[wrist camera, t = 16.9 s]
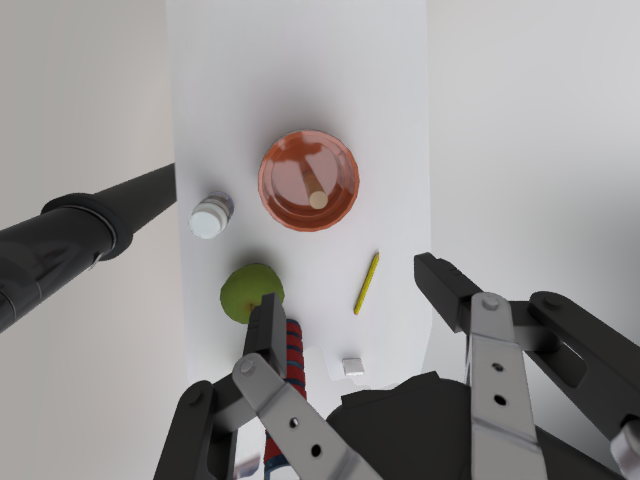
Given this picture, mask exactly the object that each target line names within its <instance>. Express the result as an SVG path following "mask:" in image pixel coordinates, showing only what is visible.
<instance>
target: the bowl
mask: <svg viewBox="0 0 640 480" xmlns="http://www.w3.org/2000/svg"><path fill="white" fill-rule="evenodd" d="M306 171H313V172H314V173H315V175H316V177H317V179H318V180H319V182H320V184H321V186H322V188H323V189H324V191H325V193H326V195H327V197H328V202H327V204H326V206H325V207H323V208H322V209H315V208H313V207H312V206H311V205H310V203H309V199H308V196H307V193H306V189H305V186H304V183H303V179H302V176H303V174H304V172H306ZM358 188H359V174H358V167H357V164H356V162H355V160H354V158H353V156H352V154H351V152H350V150H349V149H348V148H347V147H346V146H345V145H344V144H343V143H342V142H341V141H340V140H338V139H337V138H335V137H333V136H330V135H328V134H326V133H324V132H322V131H318V130H311V129H300V130H296V131H292V132H288V133H286V134H285V135H283V136H282V137H280V138H279V139H277V140H276V141H275V142H274V143H273V145H272V146H271V147H270V149H269V150H268V151H267V153H266V154H265V156H264V158H263V161H262V164H261V167H260V170H259V173H258V190H259V194H260V197H261V199H262V202H263V205H264V207H265V208H266V210H267V211H268V212H269V213H270V215H271V216H272V217H273V218H274V219H275V220H276V221H278V222H279V223H281V224H282V225H283V226H285V227H287V228H290V229H293V230H296V231H300V232H315V231H319V230H323V229H327V228H329V227H331V226H332V225H334V224H336V223H337V222H339V221H340V220H341V219H342V218H343V217H344V216H345V215H346V214H347V213H348V212H349V211H350V209H351V207H352V206H353V204H354V202H355V200H356V198H357V193H358Z"/></svg>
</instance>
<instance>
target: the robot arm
mask: <svg viewBox="0 0 640 480" xmlns="http://www.w3.org/2000/svg"><path fill="white" fill-rule="evenodd" d="M117 241H118V236H117V232H116V230H115V228H114V226H113V224H112V223H111V222H110V221H109V220H108V219H107V218H106V217H105V216H104V215H102V214H101V213H99V212H98V211H96V210H94V209H91V208H89V207H86V206H82V205H74V204H70V205H63V206H60V207H58V208H55V209H53V210H52V211H49V212H47V213H44V214H42V215H39V216H36V217H34V218H31V219H29V220H26V221H24V222H21V223H19V224H16V225H13V226H11V227H9V228H6V229H3V230H1V231H0V334H1V333H2V332H3V331H5V330H6V329H7V328H8V327H10V326H11V325H13V324H14V323H15V322H17V321H18V320H19V319H20V318H22V317H23V316H25V315H26V314H27V313H28V312H30V311H31V310H32V309H34V308H35V307H36V306H38V305H39V304H40V303H42V302H43V301H44V300H46V299H47V298H48V297H50V296H51V295H52V294H54V293H55V292H56V291H58V290H59V289H60V288H61V287H63V286H64V285H66V284H67V283H68V282H70V281H71V280H72V279H73V278H75V277H76V276H78V275H79V274H80V273H82V272H83V271H84V270H86V269H87V268H88V267H90V266H91V265H92V264H93V265H92V266H91V268H90V269H92V268H93V267H94V265H95V264H96V263H97V261H98V260H99V259H100V258H102V257H103V256H104V255H106V254H108V253H109V252H111V251H112V250H113V249H114V248H115V247H116V245H117ZM414 278H415V282H416V284H417V286H418V288H419V289H420V290H421V292H422V293H423V294H424V295H425V297H426V298H427V299H428V300H429V302H430V303H431V304H432V305H433V307H434V308H435V309H436V310H437V312H438V313H439V314H440V315H441V317H442V318H443V319H444V320H445V322H446V323H447V324H448V326H449V327H450V328H451V329H452V331H453V332H454V333H458V332H461V331H463V332H464V333H465V334H466V335H467V336H466V353H465V376H464V384H463V383H461V382H458V381H454V380H450V379H443V378H439V376H438V374H437V373H436V371H432V372H429V373H425V374H421V375H417V376H413V377H411V378H410V379H408V380H406V381H405V382H403V383H402V384H400V385H398V386H397V387H395V388H394V389H392V390H362V391H358V392H354V393H351V394H347V395H343V396H341V400H342V405H340V406H339V407H337V408H336V409H335V410H334V411H333V412H332V413H331V414H330V415H329V416H328V417H327V419H326V420H324V419H323V418H322V417H321V416H320V415H319V413H318V412H316V411H315V409H314V408H313V407H312V406H311V405H310V404H309V403H308V402H307V401H306V400H305V399H304V397H303V396H302V395H301V394H300V393H299V392H298V391H297V390H296V389H295V388H294V387H293V386H292V385H291V384H290V383H289V382H285V381H284V380H283V378H287V362H286V316H285V312H284V309H283V307H282V304H281V302H280V299H279V297H278V295H277V293H276V292H272V293H268V294H264V295H262V300H261V305H259V306H255V307H254V309H253V311H252V312H251V314H250V318H249V324H248V331H247V334H246V340H245V346H244V351H243V356H242V358H241V359H240V360H239V361H238V362H237V363H236V364H235V366H234V368H233V371H232V373H230V374H229V375H227V376H226V377H224V378H222V379H221V380H219V381H217V382H216V383H214V384H211V383H210V382H209V381H206V380H202V381H199V382H196V383H195V384H193V385H191V386H190V387H189V388H188V389H187V390H186V391H185V392H184V393H183V395H182V396H181V398H180V400H179V402H178V405H177V408H176V411H175V414H174V417H173V420H172V423H171V426H170V429H169V433H168V435H167V438H166V442H165V445H164V448H163V451H162V454H161V457H160V460H159V463H158V466H157V469H156V472H155V475H154V478H153V480H233V472H234V463H235V453H236V443H237V433H238V428H239V427H241V426H242V425H244V424H245V423H247V422H248V421H250V420H251V419H253V418H254V417H256V416H258V418H259V419H260V421H261V422H262V424H263V425H264V427H265V428H266V430H267V431H268V433H269V434H270V436H271V437H272V438H273V440H274V441H275V443H276V444H277V446H278V447H279V449H280V450H281V452H282V453H283V455H284V456H285V458H286V459H287V461H288V462H289V463H290V465H291V466H292V468H293V469H294V471H295V472H296V474H297V475H298V477H299V478H300V479H299V480H640V347H639V346H637V345H636V344H634V343H633V342H631V341H630V340H628V339H627V338H626V337H624V336H623V335H621V334H620V333H618V332H617V331H615V330H614V329H612V328H611V327H609V326H608V325H607V324H605V323H604V322H602V321H601V320H599V319H598V318H596V317H595V316H593V315H592V314H590V313H589V312H587V311H586V310H585V309H583V308H582V307H580V306H579V305H577V304H576V303H574V302H573V301H571V300H570V299H568V298H567V297H565V296H562V295H560V294H557V293H553V292H548V291H539V292H535V293H533V294H532V295H531V297H530V300H529V301H507V300H506V299H505V298H503V297H501V296H500V295H497V294H494V293H490V292H484V291H482V290H481V289H480V288H479V287H478V286H477V285H475V284H474V283H473V282H472V281H471V280H470V279H469V278H467V277H466V276H465V275H464V274H462V272H461V271H459V270H457V268H456V267H455V266H454V265H452V264H451V263H450V262H448V261H446V260H443V259H441V258H440V259H436V258H435V257H434V256H433V255H432V254H431V253H429V252H426V253H423V254H419V255H415V256H414ZM563 342H565V343H566V344H567V345H568V346H569V347H570V348H571V349H573V350H574V351H575V352H576V353H577V354H578V355H579V356H581V358H582V359H581V358H580V357H579V356H578V355H577V354H576V353H575V352H573V351H572V350H571V349H570V348H569V347H568V346H566V345H565V344H564V343H563ZM522 350H523V351H525V353H526V354H527V355H528V356H529V357H530V358H531V359H532V360H533V361H534V362H535V363H536V364H537V365H538V366H539V367H540V368H541V369H542V370H543V372H544V373H545V374H546V375H547V376H548V377H549V378H550V379H551V380H552V381H553V382H554V383H555V384H556V385H557V386H558V387H559V388H560V389H561V390H562V391H563V392H564V394H565V395H566V396H567V397H568V398H569V399H570V400H571V401H572V402H573V403H574V404H575V405H576V406H577V407H578V408H579V409H580V410H581V412H582V413H583V414H584V415H585V416H586V417H587V418H588V419H589V420H590V421H591V422H592V423H593V424H594V425H595V426H596V427H597V428H598V429H599V430H600V432H601V433H602V434H603V435H604V436H605V437H606V438H607V439H608V440H609V441H610V450H611V453H612V455H613V458H614V459H615V461H616V462H617V464H618V465H619V466H620V470H621V472H622V474H623V475H624V477H625V478H626V479H625V478H624V477H622V476H621V475H619V474H618V473H616V472H614V471H612V470H610V469H609V468H607V467H606V466H604V465H602V464H601V463H599V462H597V461H595V460H594V459H592V458H590V457H589V456H587V455H585V454H584V453H582V452H580V451H579V450H577V449H575V448H573V447H572V446H570V445H568V444H567V443H565V442H563V441H562V440H560V439H558V438H557V437H555V436H553V435H551V434H550V433H548V432H546V431H545V430H543V429H541V428H540V427H538V426H536V425H535V424H534V420H533V413H532V408H531V401H530V395H529V389H528V383H527V377H526V371H525V365H524V359H523V353H522Z"/></svg>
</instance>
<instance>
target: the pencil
mask: <svg viewBox="0 0 640 480" xmlns="http://www.w3.org/2000/svg"><path fill="white" fill-rule="evenodd" d="M378 260H379V252H378V253H377V255H376V256H375V257H374V259H373V262H372V265H371V267H370V270H369V273H368V276H367V278H366V281H365V284H364V286H363V289H362V292H361V294H360V297H359V300H358V303H357V305H356V308H355V311H354V314H355V315H358V313H359V310H360V307H361V305H362V302H363V299H364V297H365V294H366V292H367V289H368V286H369V284H370V281H371V279H372V276H373V273H374V271H375V268H376V266H377V263H378Z"/></svg>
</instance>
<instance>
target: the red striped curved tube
mask: <svg viewBox="0 0 640 480" xmlns="http://www.w3.org/2000/svg"><path fill="white" fill-rule="evenodd" d="M301 340H302V330H301V328H300V325H299V323H297V322H296V321H294V320H291V319H286V362H287V378H283V380H284V381H285V382H289V383H290V384H291V385H292V386H293V387H294V388H295V389H296V390H297V391H298V392H299V393H300V394H301V395H302V396H303V397H304V399H305V400H306V401H307V397H306V391H305V373H304V357H303V356H302V353H303V343H302V341H301ZM265 431H266V432H265V434H266V446H265V454H264V458H263V459H264V465H265V467H264V480H299V479H300V478H299V477H298V475H297V474H296V472H295V471H294V469H293V468H292V466H291V465H290V463H289V462H288V461H287V459H286V458H285V456H284V455H283V453H282V452H281V450H280V449H279V447H278V446H277V444H276V443H275V441H274V440H273V438H272V437H271V436H270V434H269V433H268V431H267V430H265Z"/></svg>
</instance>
